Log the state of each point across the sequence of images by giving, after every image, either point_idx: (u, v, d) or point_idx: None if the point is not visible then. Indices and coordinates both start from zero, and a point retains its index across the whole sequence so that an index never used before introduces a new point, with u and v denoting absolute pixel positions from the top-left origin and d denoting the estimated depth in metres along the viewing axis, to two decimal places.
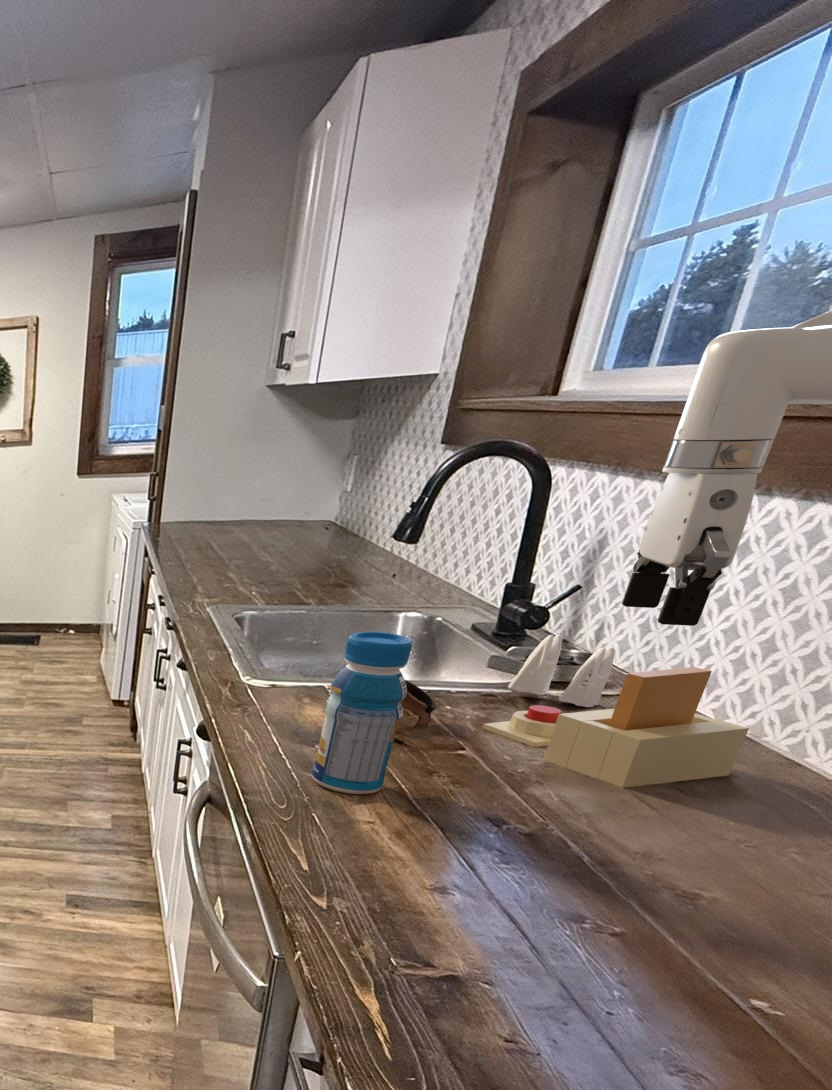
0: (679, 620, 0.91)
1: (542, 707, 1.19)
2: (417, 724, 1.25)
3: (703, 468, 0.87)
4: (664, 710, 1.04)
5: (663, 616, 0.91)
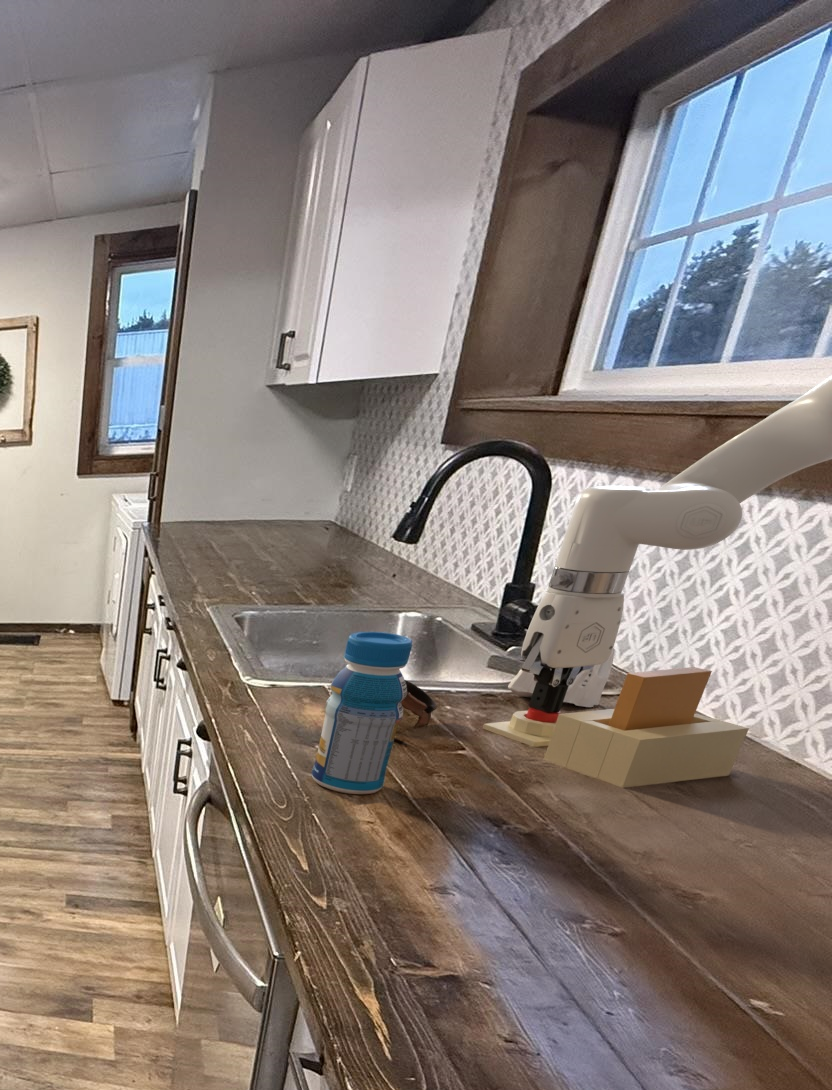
0: (540, 707, 1.18)
1: None
2: (417, 724, 1.25)
3: (550, 587, 1.13)
4: (664, 710, 1.04)
5: (531, 701, 1.19)
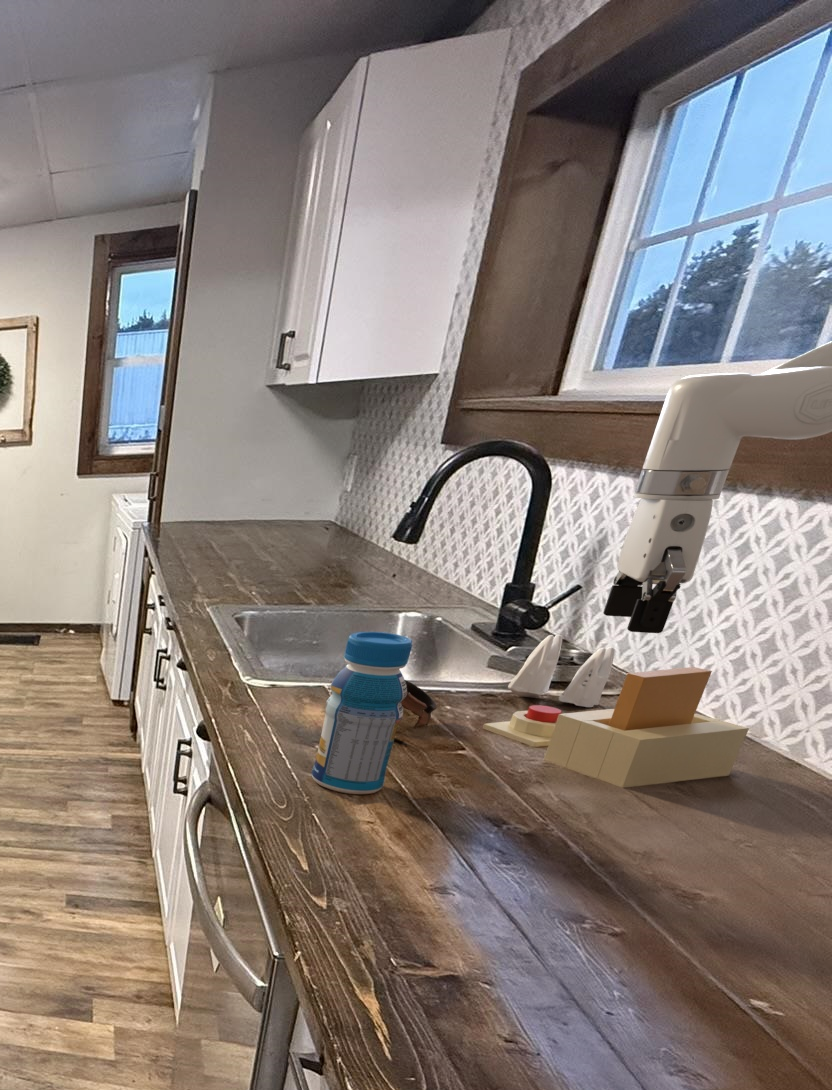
0: (646, 628, 1.02)
1: (542, 707, 1.19)
2: (417, 724, 1.25)
3: (665, 495, 0.99)
4: (664, 710, 1.04)
5: (631, 624, 1.03)
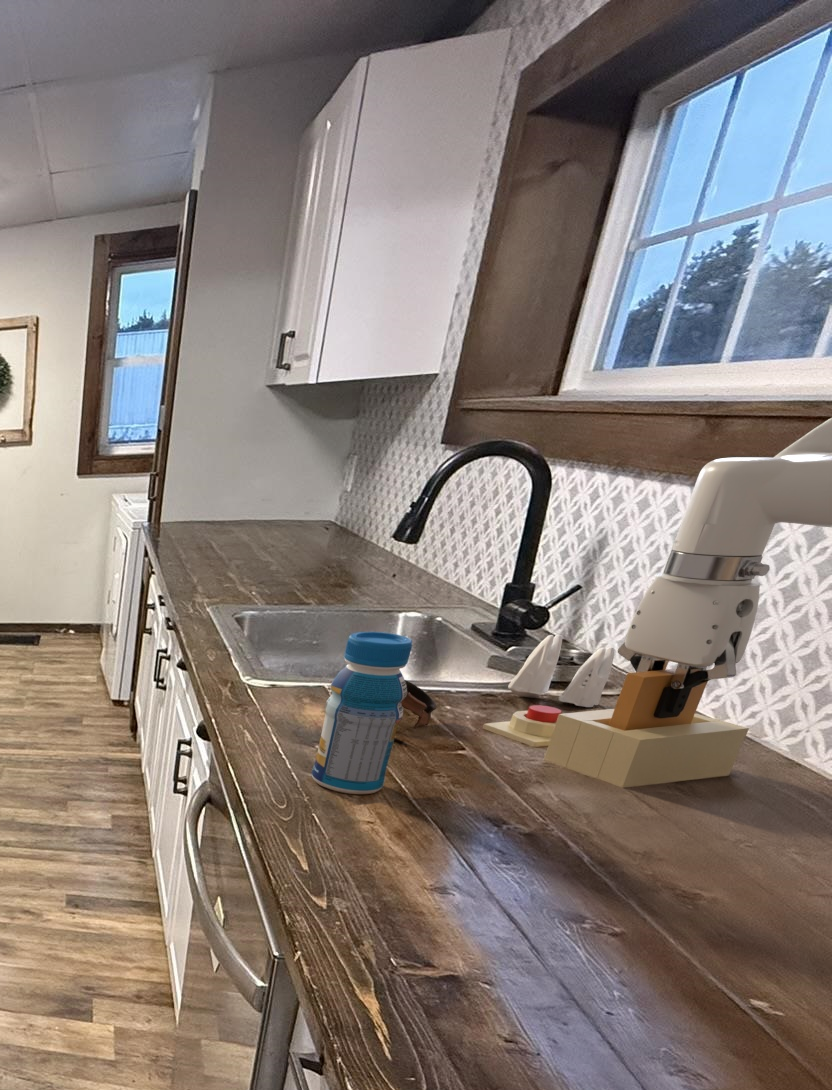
0: (669, 713, 1.03)
1: (542, 707, 1.19)
2: (417, 724, 1.25)
3: (725, 580, 0.95)
4: None
5: (661, 712, 1.03)
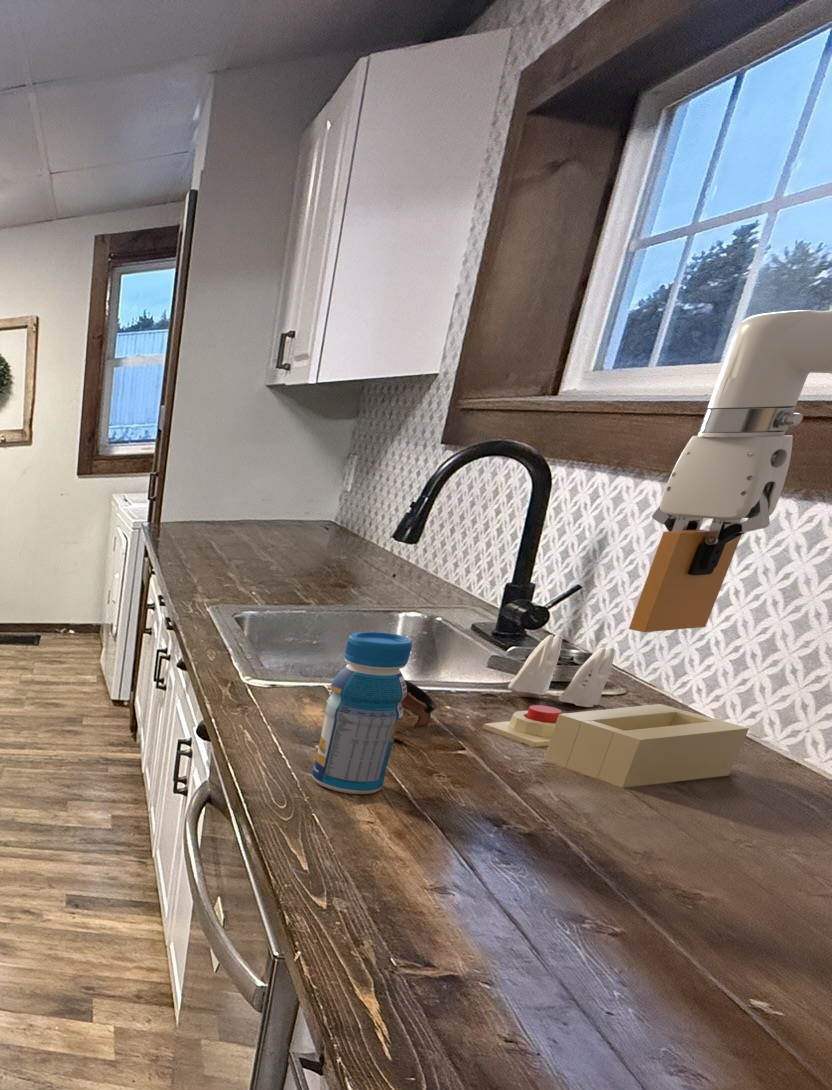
0: (703, 570, 1.08)
1: (542, 707, 1.19)
2: (417, 724, 1.25)
3: (760, 431, 1.00)
4: None
5: (695, 568, 1.08)
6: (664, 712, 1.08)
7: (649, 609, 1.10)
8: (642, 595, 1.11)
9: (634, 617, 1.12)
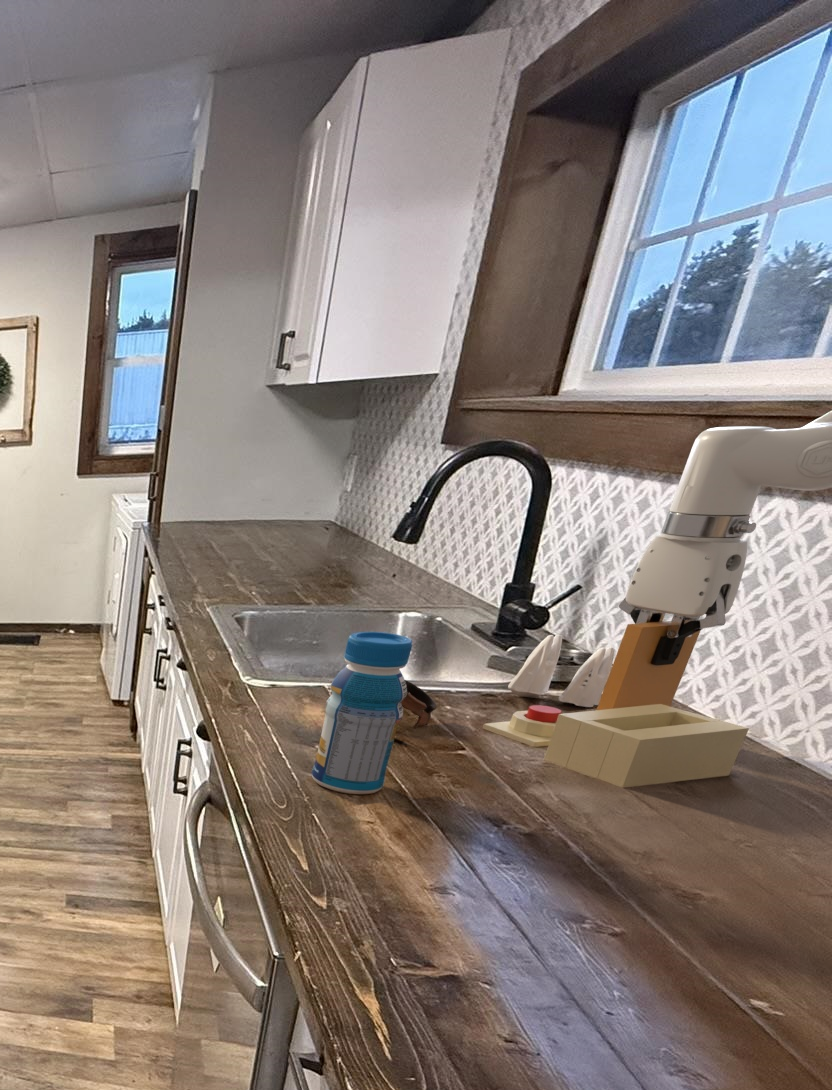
0: (665, 661, 1.14)
1: (542, 707, 1.19)
2: (417, 724, 1.25)
3: (716, 537, 1.06)
4: None
5: (657, 659, 1.14)
6: (664, 712, 1.08)
7: (614, 695, 1.16)
8: (608, 682, 1.17)
9: (600, 702, 1.18)
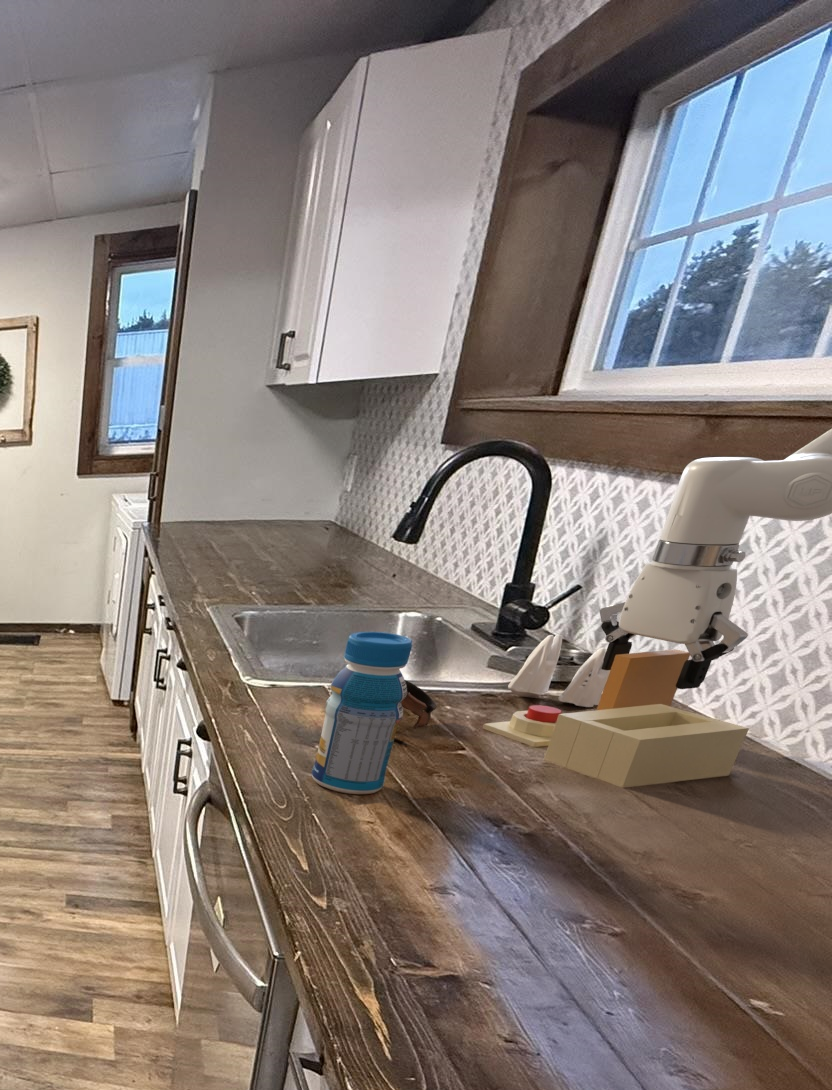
0: (691, 684, 1.12)
1: (542, 707, 1.19)
2: (417, 724, 1.25)
3: (706, 566, 1.07)
4: (648, 688, 1.16)
5: (683, 683, 1.11)
6: (664, 712, 1.08)
7: None
8: None
9: None
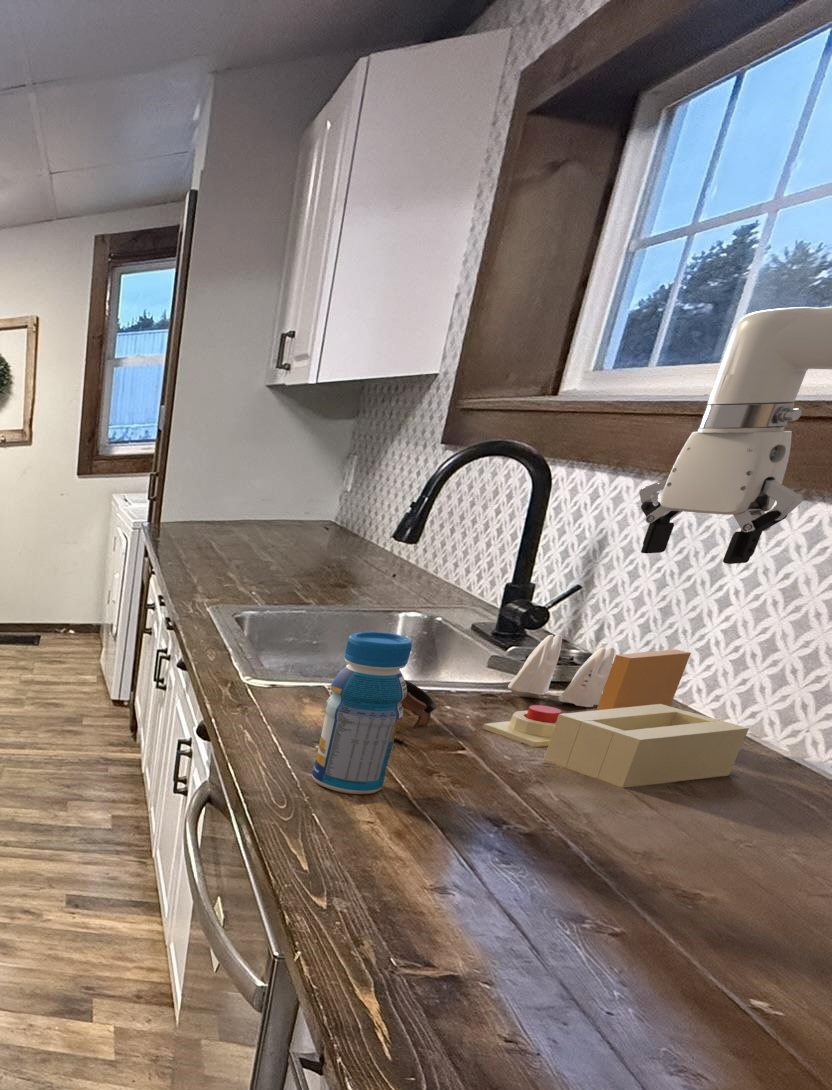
0: (739, 559, 1.05)
1: (542, 707, 1.19)
2: (417, 724, 1.25)
3: (759, 427, 1.01)
4: (648, 688, 1.16)
5: (731, 557, 1.05)
6: (664, 712, 1.08)
7: None
8: None
9: None
